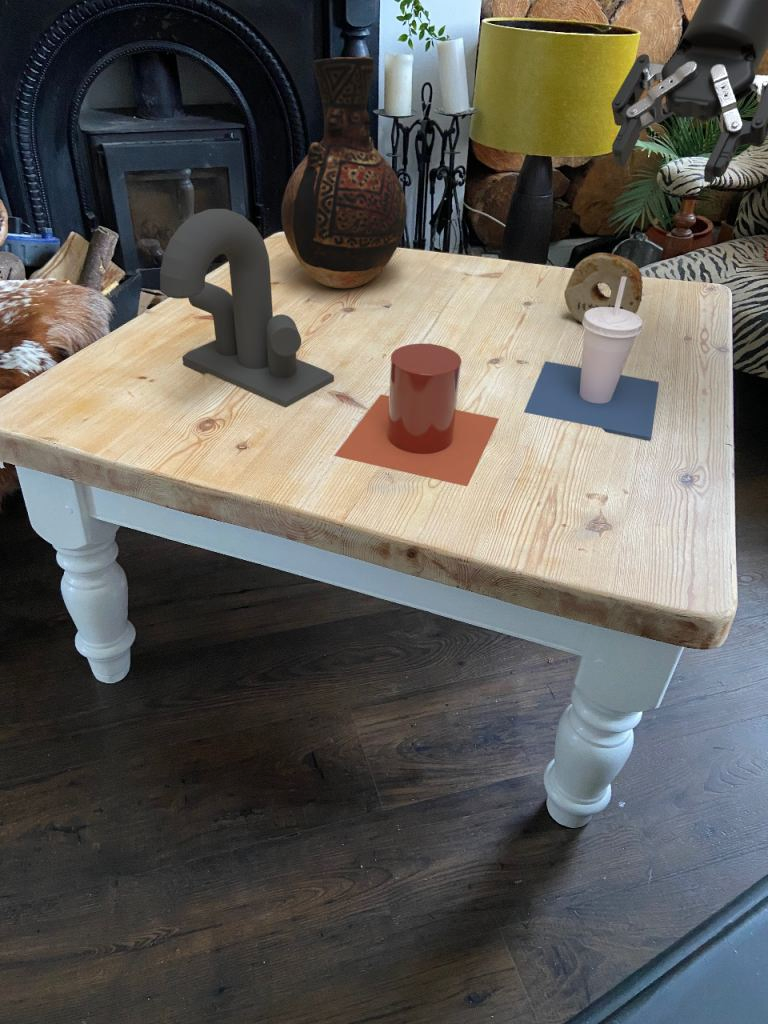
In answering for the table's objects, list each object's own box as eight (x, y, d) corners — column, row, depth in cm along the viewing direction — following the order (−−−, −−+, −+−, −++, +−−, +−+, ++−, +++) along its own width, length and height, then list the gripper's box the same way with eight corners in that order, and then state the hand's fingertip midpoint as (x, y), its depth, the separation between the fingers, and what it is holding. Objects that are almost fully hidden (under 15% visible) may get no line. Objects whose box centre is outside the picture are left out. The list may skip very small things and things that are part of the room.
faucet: (130, 385, 87) (95, 206, 74) (230, 341, 97) (213, 177, 84) (239, 438, 78) (220, 246, 66) (336, 384, 88) (335, 209, 76)
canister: (438, 415, 83) (445, 340, 77) (463, 448, 77) (472, 370, 72) (378, 424, 81) (381, 347, 75) (400, 458, 75) (404, 378, 70)
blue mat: (544, 363, 95) (545, 361, 94) (658, 384, 91) (658, 381, 91) (523, 415, 84) (523, 411, 84) (650, 440, 81) (651, 437, 80)
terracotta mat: (380, 397, 86) (380, 394, 86) (498, 421, 83) (499, 418, 83) (334, 458, 76) (333, 455, 75) (466, 489, 72) (467, 486, 72)
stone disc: (637, 330, 104) (655, 259, 98) (627, 339, 102) (645, 266, 95) (568, 311, 109) (582, 242, 103) (557, 319, 106) (570, 249, 100)
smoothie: (630, 392, 88) (661, 277, 80) (612, 414, 84) (643, 294, 75) (579, 378, 91) (603, 264, 82) (559, 398, 87) (583, 280, 78)
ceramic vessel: (354, 314, 105) (356, 69, 87) (257, 287, 112) (240, 55, 94) (426, 272, 119) (441, 55, 101) (337, 250, 126) (335, 43, 108)
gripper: (660, -23, 69) (584, 130, 69) (824, -14, 63) (741, 154, 62) (665, 41, 76) (596, 181, 75) (814, 55, 69) (739, 208, 69)
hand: (662, 168), depth 69 cm, fingers open, 8 cm apart
